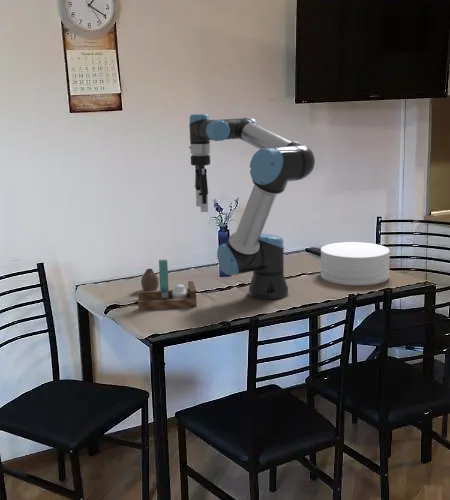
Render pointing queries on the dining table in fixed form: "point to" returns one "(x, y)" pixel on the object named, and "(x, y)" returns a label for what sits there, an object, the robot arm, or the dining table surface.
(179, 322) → the dining table surface
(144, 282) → the vase
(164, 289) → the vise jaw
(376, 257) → the plate stack
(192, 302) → the wooden tray
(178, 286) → the white rounded lump
